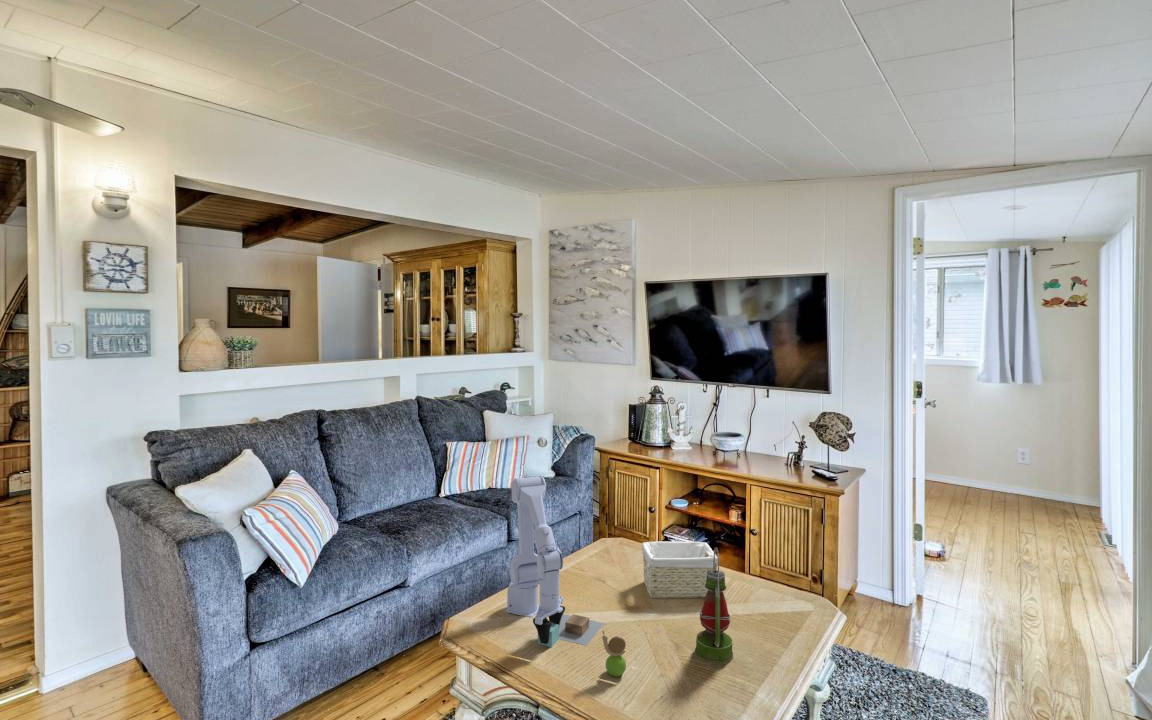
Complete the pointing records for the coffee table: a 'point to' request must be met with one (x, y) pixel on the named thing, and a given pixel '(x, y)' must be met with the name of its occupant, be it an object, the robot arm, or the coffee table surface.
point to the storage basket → (677, 568)
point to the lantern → (714, 621)
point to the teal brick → (551, 636)
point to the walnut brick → (577, 625)
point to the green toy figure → (615, 655)
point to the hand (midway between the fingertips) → (549, 637)
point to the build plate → (578, 639)
